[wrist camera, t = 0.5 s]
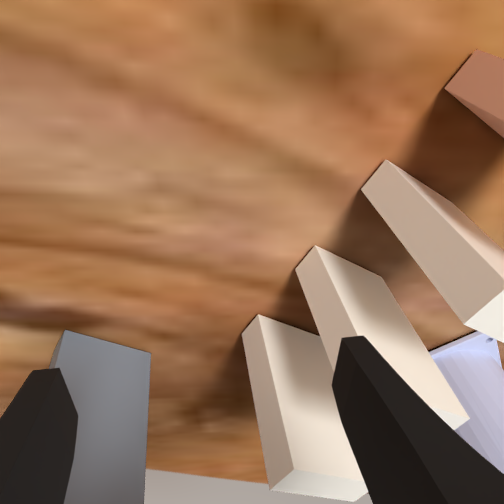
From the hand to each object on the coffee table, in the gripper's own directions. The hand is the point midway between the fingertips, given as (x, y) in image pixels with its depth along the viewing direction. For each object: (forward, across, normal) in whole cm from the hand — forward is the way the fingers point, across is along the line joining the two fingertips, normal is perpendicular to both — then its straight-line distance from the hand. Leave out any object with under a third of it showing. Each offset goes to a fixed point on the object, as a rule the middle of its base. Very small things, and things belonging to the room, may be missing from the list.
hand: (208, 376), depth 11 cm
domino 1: (+10, +6, +10) cm, 15 cm away
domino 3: (+10, -11, +1) cm, 15 cm away
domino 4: (+10, -8, +6) cm, 14 cm away
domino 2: (+10, -5, +10) cm, 15 cm away
